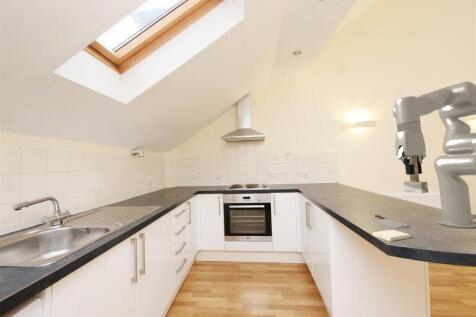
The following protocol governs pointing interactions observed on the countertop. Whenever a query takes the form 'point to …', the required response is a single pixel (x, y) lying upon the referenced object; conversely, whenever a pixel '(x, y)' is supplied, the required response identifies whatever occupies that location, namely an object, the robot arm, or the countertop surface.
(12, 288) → the countertop surface
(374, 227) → the countertop surface
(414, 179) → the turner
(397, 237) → the tile
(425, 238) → the countertop surface
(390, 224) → the kitchen cleaver
